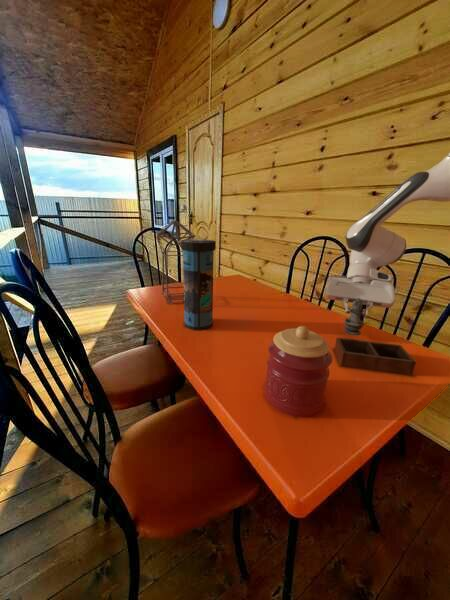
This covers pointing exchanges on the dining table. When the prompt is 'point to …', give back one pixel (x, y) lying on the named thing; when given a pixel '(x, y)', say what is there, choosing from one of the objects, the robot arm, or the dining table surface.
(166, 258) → the geometric lantern
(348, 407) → the dining table surface
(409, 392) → the dining table surface
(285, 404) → the kitchen canister
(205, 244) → the advertising column
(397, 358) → the holder
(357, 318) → the grey stone statuette
